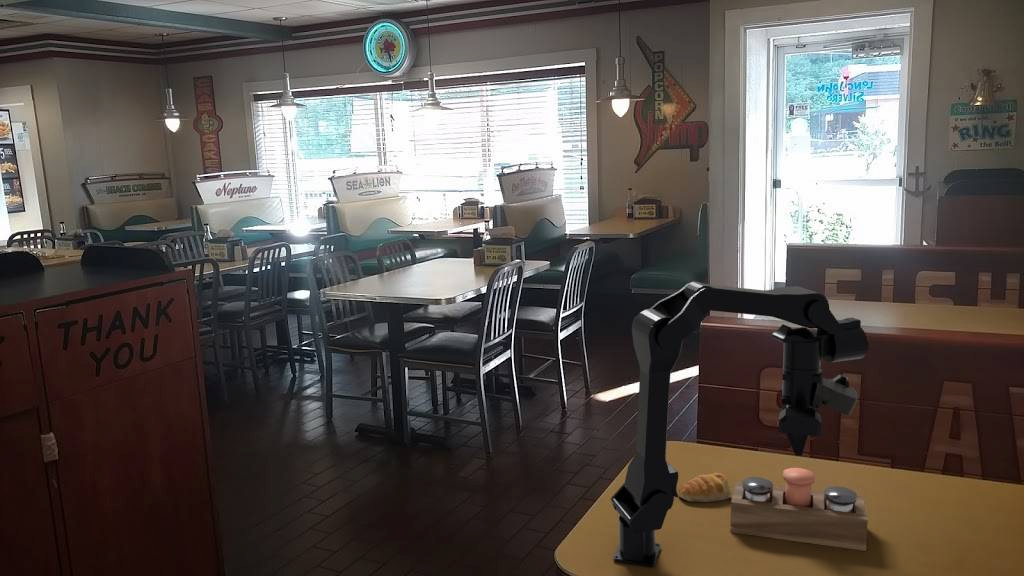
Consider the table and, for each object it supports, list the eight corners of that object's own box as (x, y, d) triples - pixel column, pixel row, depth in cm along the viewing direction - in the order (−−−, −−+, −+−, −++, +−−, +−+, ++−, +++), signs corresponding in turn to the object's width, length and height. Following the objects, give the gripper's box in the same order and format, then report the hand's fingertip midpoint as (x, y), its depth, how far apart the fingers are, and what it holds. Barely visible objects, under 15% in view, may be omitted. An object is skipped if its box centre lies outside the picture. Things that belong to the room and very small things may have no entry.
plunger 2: (855, 535, 129) (857, 502, 128) (822, 530, 130) (824, 497, 129) (854, 520, 133) (856, 488, 132) (822, 516, 135) (823, 484, 134)
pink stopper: (813, 515, 130) (815, 482, 129) (781, 511, 132) (782, 478, 131) (813, 501, 135) (814, 469, 134) (782, 497, 137) (783, 466, 136)
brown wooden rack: (866, 550, 127) (867, 521, 126) (730, 531, 134) (730, 503, 133) (862, 524, 135) (864, 495, 134) (734, 507, 142) (735, 480, 141)
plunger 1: (771, 523, 133) (772, 491, 132) (740, 519, 135) (741, 488, 134) (772, 510, 138) (773, 479, 137) (742, 506, 140) (743, 475, 138)
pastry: (688, 508, 143) (689, 488, 142) (670, 492, 149) (670, 473, 149) (734, 499, 146) (734, 480, 145) (714, 484, 152) (715, 466, 151)
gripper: (859, 387, 117) (854, 485, 121) (852, 351, 135) (848, 438, 138) (779, 381, 121) (777, 476, 124) (783, 348, 138) (780, 432, 142)
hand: (798, 454), depth 132 cm, fingers closed
